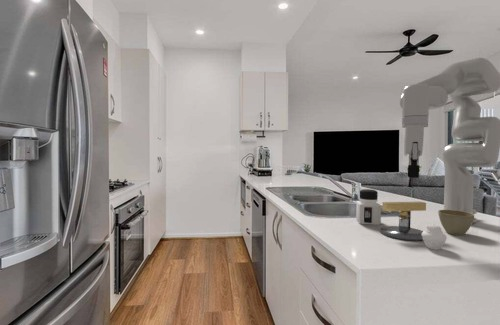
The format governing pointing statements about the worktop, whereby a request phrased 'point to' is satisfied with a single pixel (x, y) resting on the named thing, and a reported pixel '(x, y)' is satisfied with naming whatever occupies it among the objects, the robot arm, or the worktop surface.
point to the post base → (402, 235)
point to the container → (368, 208)
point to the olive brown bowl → (455, 221)
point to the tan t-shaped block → (404, 207)
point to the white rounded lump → (434, 237)
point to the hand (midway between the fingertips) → (413, 177)
